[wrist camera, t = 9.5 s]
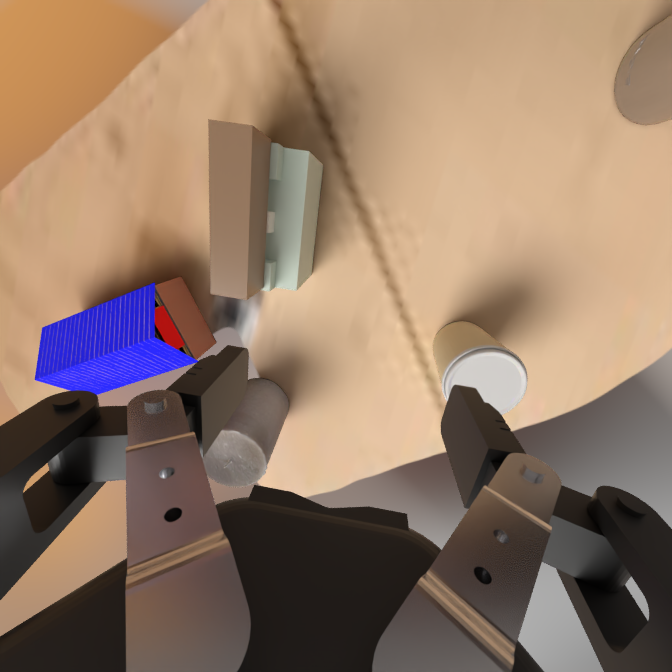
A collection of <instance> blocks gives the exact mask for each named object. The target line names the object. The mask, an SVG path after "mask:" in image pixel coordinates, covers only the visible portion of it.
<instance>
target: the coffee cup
mask: <svg viewBox="0 0 672 672" xmlns="http://www.w3.org/2000/svg"><path fill="white" fill-rule="evenodd" d="M433 354H434V359H435V362H436V366H437V370H438V374H439V377H440V381H441V384H442V391H443V394H444V397H445V399H446V401H448V398H449V395H450V392H451V389H452V387H453V386H454V385H455V384H456V385H462V386H468V387H474V388H476V389H477V390H478V392H479V394H480V396H481V397H482V399H483V401H484V402H485V403H489V404H490V405H491V406H493V407H494V408H495V409H496V410H497V411H499V412H500V414H501V415H503V414H505V413H507V412H508V411H510V410H511V409H513V408H514V407H515V406H516V405H517V404H518V403H519V402H520V401H521V399H522V398H523V396H524V394H525V391H526V388H527V371H526V368H525V366H524V364H523V362H522V361H521V359H520V358H519V357H518V356H517V355H516V354H514V353H513V352H511V351H510V350H508V349H507V348H505V347H504V346H503V345H502V344H500V343H499V342H498V341H497V340H495V339H494V338H493V337H492V336H490V335H489V334H488V333H486V332H485V331H484V330H482V329H481V328H480V327H478V326H477V325H475V324H473V323H470V322H465V321H459V322H454V323H451V324H448V325H446V326H445V327H443V328H442V329H441V330H440V331H439V332H438V333H437V335H436V336H435V338H434V341H433Z"/></svg>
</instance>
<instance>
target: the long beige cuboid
mask: <svg viewBox="0 0 672 672" xmlns="http://www.w3.org/2000/svg"><path fill="white" fill-rule="evenodd" d="M208 120H209V119H208ZM270 154H271V139H270V138H269V137H267V136H266V135H265V134H263V133H262V132H261V131H259V130H258V129H257V128H255V127H254V126H252V125H245V124H238V123H231V122H223V121H216V120H209V208H210V294H213V295H219V296H226V297H232V298H238V299H244V300H247V299H249V298H250V297H252V296H253V295H254V294H256V293H257V292H259V291H260V290H261V289H263V287H264V268H265V249H266V230H267V211H268V192H269V173H270Z"/></svg>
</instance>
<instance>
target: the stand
mask: <svg viewBox="0 0 672 672" xmlns="http://www.w3.org/2000/svg"><path fill="white" fill-rule="evenodd" d="M322 173H323V164H322V163H321V162H320V161H319V160H318V159H317V158H316V157H315V156H314V155H313V154H312V153H311V152H310V151H305V150H298V149H290V148H284V147H283V146H281V145H280V144H278V143H271V154H270V173H269V192H268V211H267V230H266V249H265V268H264V287H263V289H261V290H264V291H271V290H272V289H273V288H275V287H276V288H282V289H288V290H295V291H297V290H298V288H299V287H300V286H301V285H302V284H303V283H304V282H305V281H306V280H307V279H308V278H309V277H310V276H311V274H312V265H313V256H314V247H315V237H316V228H317V219H318V210H319V201H320V191H321V182H322Z"/></svg>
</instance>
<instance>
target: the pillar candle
mask: <svg viewBox="0 0 672 672" xmlns="http://www.w3.org/2000/svg"><path fill="white" fill-rule="evenodd" d="M288 410H289V401H288V398H287V396H286V394H285V393H284V392H283V390H282V389H281V388H280V387H279V386H278V385H277V384H275V383H274V382H272V381H270V380H267V379H262V378H253V379H249V380H248V383H247V390H246V393H245V396H244V398H243V400H242V401H241V403H240V404H239V406H238V407H237V409H236V410H235V412H234V413H233V415H232V416H231V417H230V419H229V420H228V422H227V423H226V425H225V426H224V428H223V429H222V431H221V432H220V434H219V435H218V437H217V438H216V439H215V441H214V442H213V444H212V445H211V447H210V448H209V450H208V451H207V453H206V454H205V456H204V457H203V458H202V460H203V463H204V467H205V470H206V474H207V476H208V477H209V478H211V479H212V480H215V481H216V482H217V483H220V484H222V485H225V486H229V487H245V486H248V485H252V484H253V483H255V482H257V481H258V480H259V479H260V478H261V477H262V476H263V475H264V474H265V473H266V471H265V470H266V469H267V464H268V462H269V459H270V457H271V454H272V452H273V449H274V447H275V444H276V442H277V439H278V436H279V434H280V431H281V429H282V426H283V424H284V421H285V419H286V416H287V413H288Z"/></svg>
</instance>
